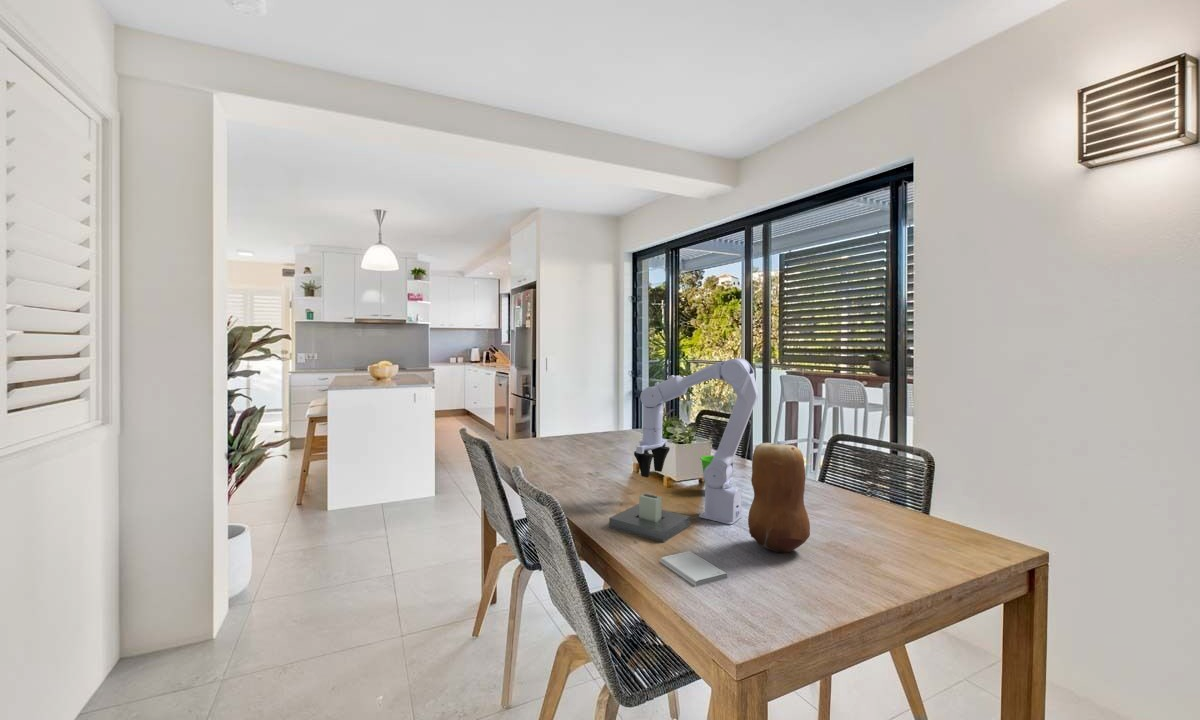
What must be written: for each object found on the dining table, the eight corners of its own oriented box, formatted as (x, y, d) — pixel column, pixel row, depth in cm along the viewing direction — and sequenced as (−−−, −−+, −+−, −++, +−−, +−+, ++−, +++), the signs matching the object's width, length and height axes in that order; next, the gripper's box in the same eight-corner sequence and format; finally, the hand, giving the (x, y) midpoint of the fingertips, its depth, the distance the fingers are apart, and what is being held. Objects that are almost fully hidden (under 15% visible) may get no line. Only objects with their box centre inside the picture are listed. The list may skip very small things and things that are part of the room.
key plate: (689, 525, 134) (690, 516, 134) (663, 542, 123) (663, 532, 123) (638, 512, 144) (638, 504, 144) (609, 527, 132) (609, 517, 132)
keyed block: (644, 523, 136) (645, 492, 136) (661, 527, 133) (661, 495, 133) (638, 526, 134) (639, 494, 133) (655, 530, 131) (655, 498, 130)
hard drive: (727, 573, 105) (690, 550, 116) (695, 581, 101) (660, 556, 112) (727, 580, 105) (690, 557, 116) (695, 589, 101) (660, 564, 112)
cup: (694, 490, 165) (694, 456, 165) (716, 487, 169) (717, 454, 169) (711, 498, 157) (712, 463, 157) (734, 495, 161) (735, 460, 161)
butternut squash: (781, 535, 128) (783, 436, 127) (822, 556, 116) (825, 447, 115) (735, 542, 123) (737, 439, 122) (772, 566, 111) (775, 451, 110)
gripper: (653, 423, 157) (652, 466, 158) (627, 429, 145) (626, 476, 146) (673, 425, 153) (672, 470, 154) (648, 432, 141) (648, 481, 142)
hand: (651, 473), depth 150 cm, fingers open, 7 cm apart
